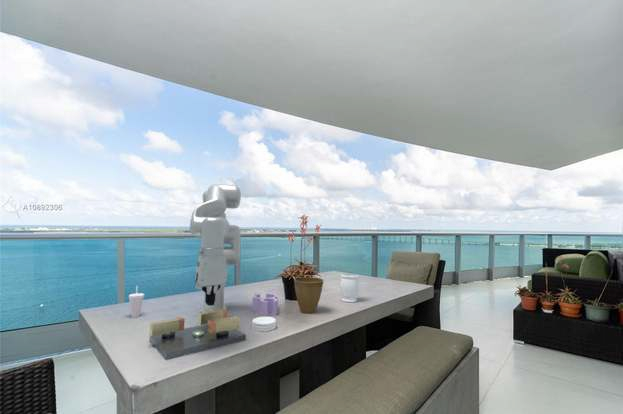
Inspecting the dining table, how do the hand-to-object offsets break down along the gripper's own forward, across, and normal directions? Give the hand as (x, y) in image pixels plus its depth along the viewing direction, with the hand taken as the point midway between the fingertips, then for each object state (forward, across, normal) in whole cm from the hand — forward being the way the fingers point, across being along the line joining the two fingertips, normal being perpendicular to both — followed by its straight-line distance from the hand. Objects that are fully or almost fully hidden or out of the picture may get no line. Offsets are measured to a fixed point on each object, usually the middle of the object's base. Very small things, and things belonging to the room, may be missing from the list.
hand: (210, 304), depth 110 cm
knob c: (+12, +7, +2) cm, 14 cm away
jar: (+16, +91, +16) cm, 94 cm away
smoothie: (+16, -12, +54) cm, 58 cm away
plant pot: (+15, +57, +13) cm, 61 cm away
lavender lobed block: (+16, +41, +27) cm, 52 cm away
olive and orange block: (+12, -10, +12) cm, 20 cm away
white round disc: (+15, +26, +5) cm, 31 cm away
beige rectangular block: (+13, +8, +14) cm, 20 cm away
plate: (+14, -1, +7) cm, 16 cm away
